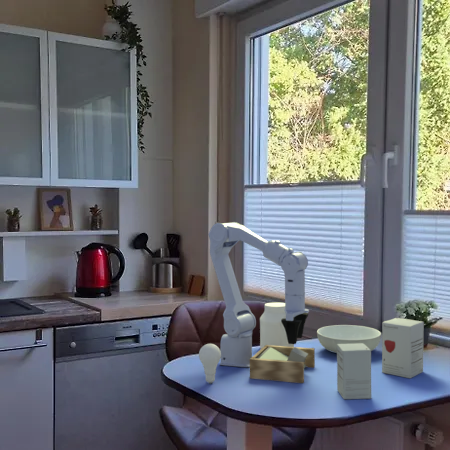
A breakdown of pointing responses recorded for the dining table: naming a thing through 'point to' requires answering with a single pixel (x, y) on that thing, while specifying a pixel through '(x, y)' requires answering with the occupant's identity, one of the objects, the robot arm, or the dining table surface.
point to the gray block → (297, 355)
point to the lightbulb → (210, 360)
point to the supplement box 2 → (402, 347)
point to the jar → (273, 326)
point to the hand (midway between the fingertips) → (295, 340)
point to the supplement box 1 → (354, 371)
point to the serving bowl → (348, 336)
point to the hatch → (273, 355)
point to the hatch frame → (281, 365)
